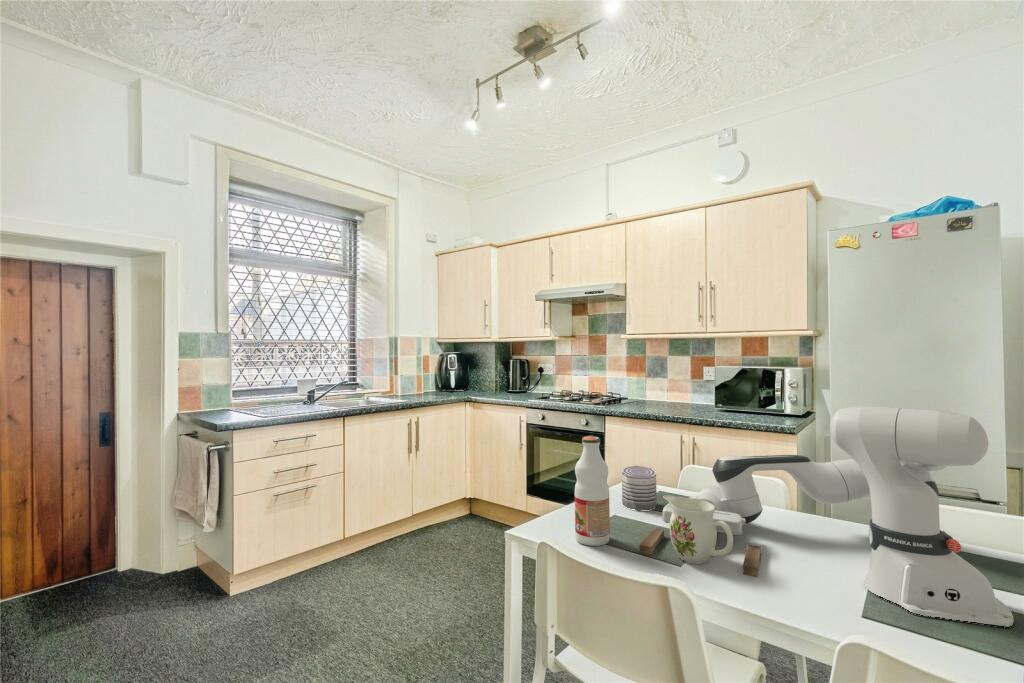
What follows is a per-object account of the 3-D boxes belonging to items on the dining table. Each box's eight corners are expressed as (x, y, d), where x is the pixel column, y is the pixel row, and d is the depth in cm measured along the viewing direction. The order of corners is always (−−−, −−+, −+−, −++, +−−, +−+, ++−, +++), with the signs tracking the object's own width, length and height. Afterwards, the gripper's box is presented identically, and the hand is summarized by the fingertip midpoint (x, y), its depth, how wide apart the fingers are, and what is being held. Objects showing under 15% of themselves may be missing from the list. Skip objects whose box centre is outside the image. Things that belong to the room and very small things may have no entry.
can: (659, 503, 161) (658, 467, 162) (654, 513, 151) (654, 475, 151) (625, 499, 166) (625, 464, 166) (618, 508, 156) (618, 472, 156)
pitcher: (722, 579, 107) (720, 517, 107) (652, 554, 121) (651, 499, 121) (743, 565, 114) (742, 507, 114) (676, 542, 128) (675, 491, 128)
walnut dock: (761, 554, 120) (761, 546, 120) (757, 577, 108) (757, 568, 108) (653, 534, 133) (653, 527, 133) (639, 552, 121) (639, 544, 121)
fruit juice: (604, 549, 124) (602, 441, 124) (570, 543, 128) (569, 439, 129) (614, 536, 132) (612, 436, 133) (581, 531, 136) (580, 433, 137)
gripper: (746, 530, 129) (741, 548, 117) (669, 517, 140) (657, 533, 128) (746, 507, 129) (740, 523, 117) (669, 496, 140) (657, 509, 128)
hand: (696, 528), depth 123 cm, fingers closed, pressing on pitcher
